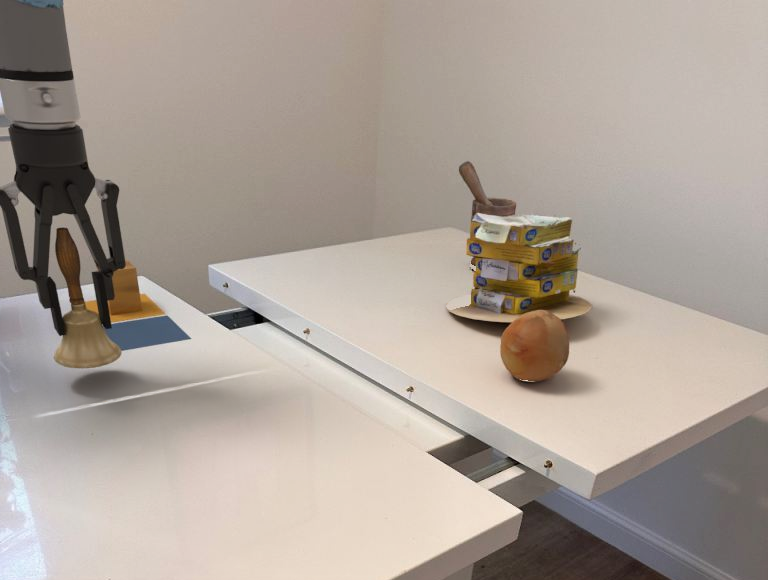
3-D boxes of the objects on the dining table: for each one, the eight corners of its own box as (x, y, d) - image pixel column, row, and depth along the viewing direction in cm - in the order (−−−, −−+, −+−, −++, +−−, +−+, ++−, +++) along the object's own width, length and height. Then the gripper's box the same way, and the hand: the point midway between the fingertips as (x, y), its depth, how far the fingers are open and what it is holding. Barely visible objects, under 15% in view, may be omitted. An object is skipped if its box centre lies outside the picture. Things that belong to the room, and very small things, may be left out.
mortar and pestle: (461, 277, 143) (473, 167, 131) (445, 264, 149) (455, 158, 138) (513, 274, 146) (530, 167, 134) (495, 261, 153) (509, 158, 141)
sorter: (79, 305, 120) (79, 302, 119) (145, 296, 125) (144, 293, 124) (119, 354, 104) (118, 351, 104) (191, 341, 110) (191, 338, 109)
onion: (503, 360, 110) (513, 295, 104) (568, 372, 107) (582, 307, 101) (487, 384, 102) (497, 316, 97) (556, 398, 100) (571, 329, 94)
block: (102, 305, 119) (95, 262, 115) (133, 301, 121) (126, 259, 117) (111, 315, 115) (103, 271, 111) (142, 310, 118) (136, 267, 114)
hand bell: (57, 372, 89) (28, 240, 80) (51, 346, 95) (24, 221, 86) (126, 364, 92) (106, 236, 83) (117, 340, 98) (97, 218, 89)
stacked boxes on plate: (419, 301, 130) (427, 203, 120) (526, 285, 140) (541, 194, 131) (503, 352, 113) (520, 242, 103) (617, 329, 123) (642, 228, 114)
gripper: (-43, 130, 71) (13, 350, 85) (138, 127, 80) (162, 328, 93) (-53, 119, 76) (1, 328, 90) (118, 116, 85) (144, 308, 98)
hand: (83, 328), depth 92 cm, fingers closed on hand bell, 5 cm apart
